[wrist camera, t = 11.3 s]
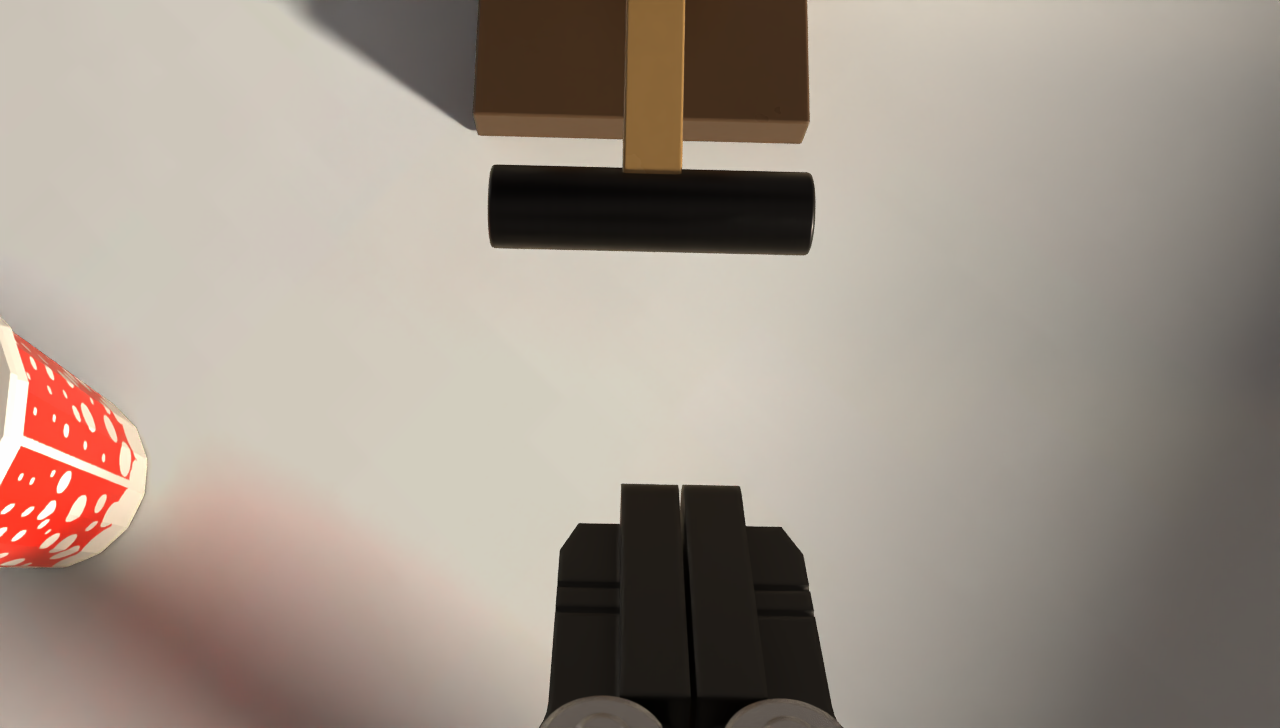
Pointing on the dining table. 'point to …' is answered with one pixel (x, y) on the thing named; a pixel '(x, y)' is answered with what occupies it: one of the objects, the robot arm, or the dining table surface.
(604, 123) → the lever base
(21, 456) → the beverage cup
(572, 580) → the robot arm
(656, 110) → the wooden lever handle
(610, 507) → the dining table surface
